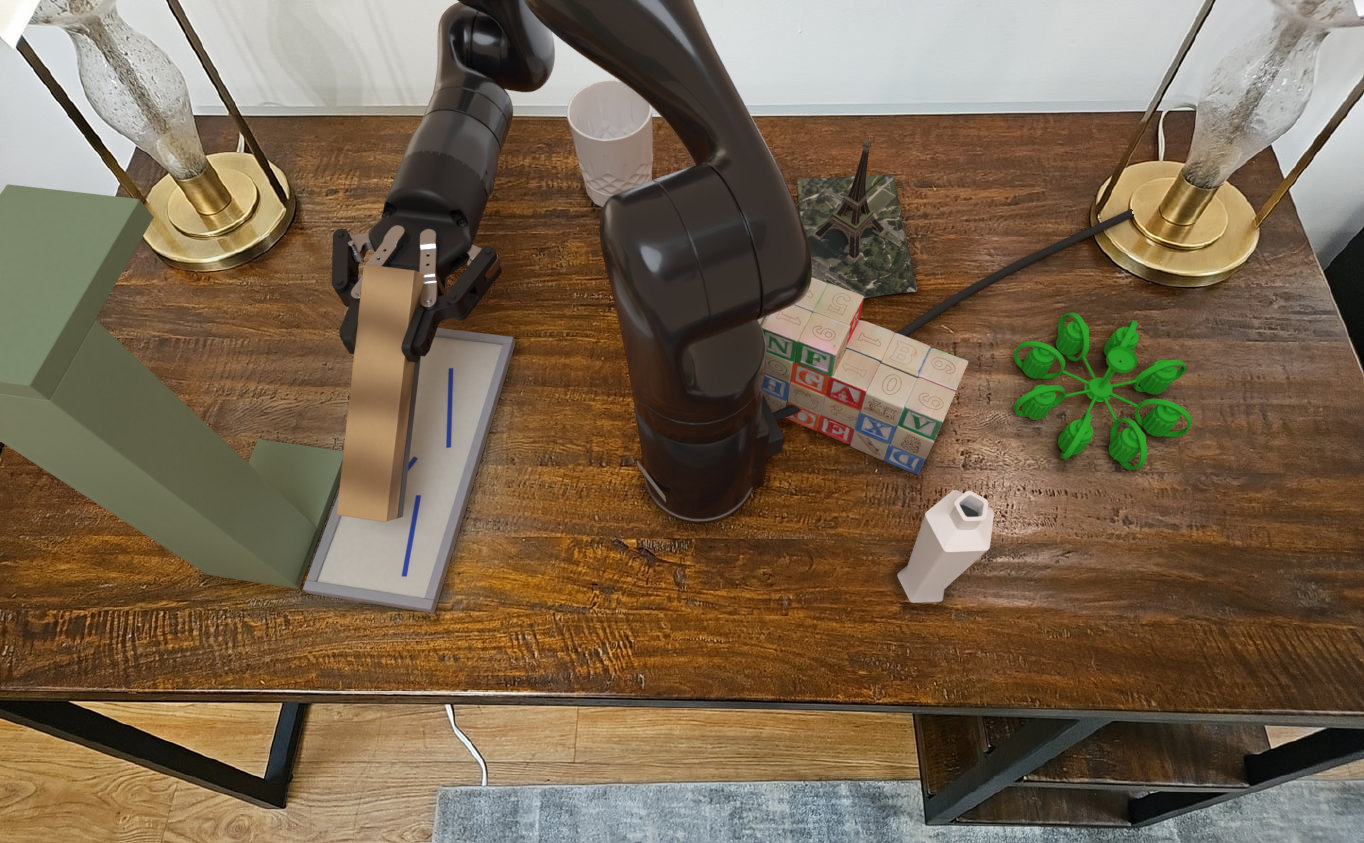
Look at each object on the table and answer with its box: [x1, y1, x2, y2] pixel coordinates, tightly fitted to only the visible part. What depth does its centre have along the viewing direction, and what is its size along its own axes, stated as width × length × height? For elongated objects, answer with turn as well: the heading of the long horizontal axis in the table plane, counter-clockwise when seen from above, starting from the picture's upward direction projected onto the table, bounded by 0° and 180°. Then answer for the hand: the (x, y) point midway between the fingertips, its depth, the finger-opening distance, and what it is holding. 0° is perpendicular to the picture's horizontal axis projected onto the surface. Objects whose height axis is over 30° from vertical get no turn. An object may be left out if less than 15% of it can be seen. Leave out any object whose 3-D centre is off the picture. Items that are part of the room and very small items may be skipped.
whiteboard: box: [302, 327, 516, 614], centre depth 76 cm, size 26×11×1 cm, turn 171°
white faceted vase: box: [897, 489, 995, 604], centre depth 63 cm, size 5×4×15 cm
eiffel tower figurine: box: [796, 131, 919, 299], centre depth 80 cm, size 15×10×13 cm
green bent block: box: [0, 184, 344, 590], centre depth 60 cm, size 12×8×32 cm, turn 171°
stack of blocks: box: [758, 278, 969, 476], centre depth 73 cm, size 21×6×12 cm, turn 62°
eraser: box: [337, 264, 424, 522], centre depth 68 cm, size 19×4×3 cm, turn 171°
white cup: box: [566, 79, 654, 208], centre depth 86 cm, size 8×8×10 cm
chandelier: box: [1013, 312, 1193, 471], centre depth 74 cm, size 15×15×7 cm
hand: (380, 352), depth 66 cm, fingers closed on eraser, 4 cm apart
